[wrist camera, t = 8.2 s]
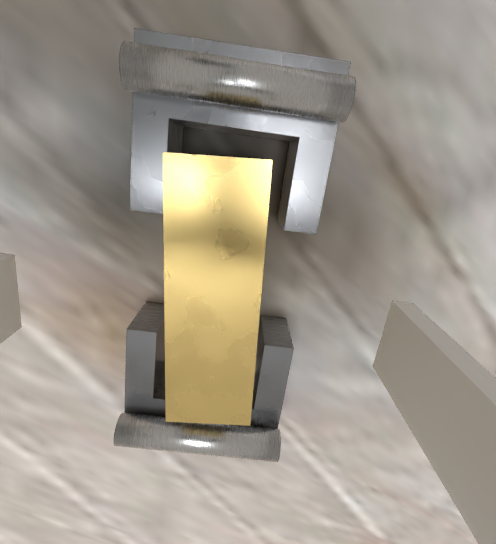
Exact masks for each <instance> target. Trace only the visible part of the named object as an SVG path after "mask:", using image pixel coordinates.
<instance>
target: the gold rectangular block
mask: <svg viewBox="0 0 496 544" xmlns="http://www.w3.org/2000/svg"><path fill="white" fill-rule="evenodd" d="M272 163H273V160H268V159H254V158H239V157H225V156H211V155H196V154H182V153H167V152H163V234H164V321H165V409H166V422H184V423H205V424H225V425H246V426H250V424H251V412H252V400H253V389H254V377H255V365H256V353H257V341H258V329H259V317H260V305H261V293H262V282H263V270H264V258H265V246H266V234H267V222H268V210H269V198H270V186H271V175H272Z"/></svg>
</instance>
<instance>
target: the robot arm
mask: <svg viewBox="0 0 496 544" xmlns="http://www.w3.org/2000/svg"><path fill="white" fill-rule="evenodd" d="M21 327H22V326H21V316H20V306H19V295H18V285H17V275H16V265H15V255H13V254H5V253H0V343H2V342H3V341H4V340H6V339H7V338H8V337H9V336H11V335H12V334H13V333H14V332H16V331H17V330H18V329H20V328H21ZM373 367H374V369H375V371H376V372H377V374H378V376H379V377H380V379H381V381H382V382H383V384H384V386H385V387H386V389H387V391H388V392H389V394H390V396H391V397H392V399H393V401H394V403H395V404H396V406H397V408H398V409H399V411H400V413H401V414H402V416H403V418H404V419H405V421H406V423H407V424H408V426H409V428H410V429H411V431H412V433H413V434H414V436H415V438H416V440H417V441H418V443H419V445H420V446H421V448H422V450H423V451H424V453H425V455H426V456H427V458H428V460H429V461H430V463H431V465H432V466H433V468H434V470H435V471H436V473H437V475H438V476H439V478H440V480H441V482H442V483H443V485H444V487H445V488H446V490H447V492H448V493H449V495H450V497H451V498H452V500H453V502H454V503H455V505H456V507H457V508H458V510H459V512H460V513H461V515H462V517H463V518H464V520H465V522H466V524H467V525H468V527H469V529H470V530H471V532H472V534H473V535H474V537H475V539H476V540H477V542H478V544H496V378H495V377H494V376H493V375H492V374H491V373H490V372H489V371H487V370H486V369H485V368H484V367H483V366H482V365H481V364H480V363H479V362H478V361H476V360H475V359H474V358H473V357H472V356H471V355H470V354H469V353H468V352H466V351H465V350H464V349H463V348H462V347H461V346H460V345H459V344H458V343H456V342H455V341H454V340H453V339H452V338H451V337H450V336H449V335H448V334H447V333H445V332H444V331H443V330H442V329H441V328H440V327H439V326H438V325H437V324H435V323H434V322H433V321H432V320H431V319H430V318H429V317H428V316H427V315H425V314H424V313H423V312H422V311H421V310H420V309H419V308H418V307H417V306H416V305H414V304H413V303H406V302H398V301H392V304H391V307H390V311H389V314H388V317H387V321H386V324H385V327H384V331H383V334H382V337H381V340H380V344H379V347H378V350H377V354H376V357H375V360H374V364H373Z"/></svg>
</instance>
